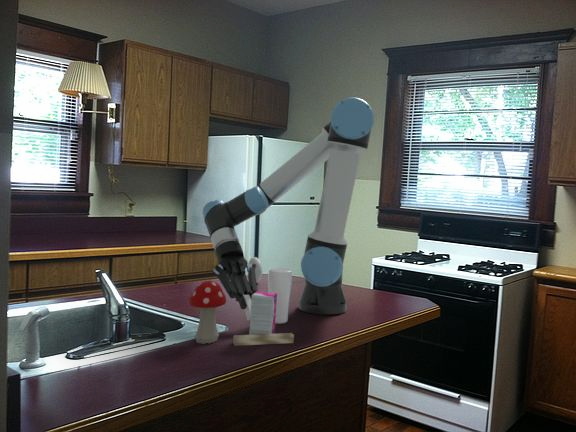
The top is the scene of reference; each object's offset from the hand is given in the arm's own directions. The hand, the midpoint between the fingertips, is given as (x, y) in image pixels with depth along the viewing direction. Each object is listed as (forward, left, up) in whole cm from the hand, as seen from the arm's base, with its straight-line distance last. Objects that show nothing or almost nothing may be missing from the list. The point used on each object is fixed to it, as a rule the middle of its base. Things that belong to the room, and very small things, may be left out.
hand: (252, 318), depth 150 cm
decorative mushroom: (+13, +5, -4) cm, 14 cm away
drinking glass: (-10, -10, -4) cm, 15 cm away
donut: (-16, -68, -4) cm, 70 cm away
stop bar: (-1, +10, -4) cm, 10 cm away
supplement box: (-2, +5, -4) cm, 7 cm away
